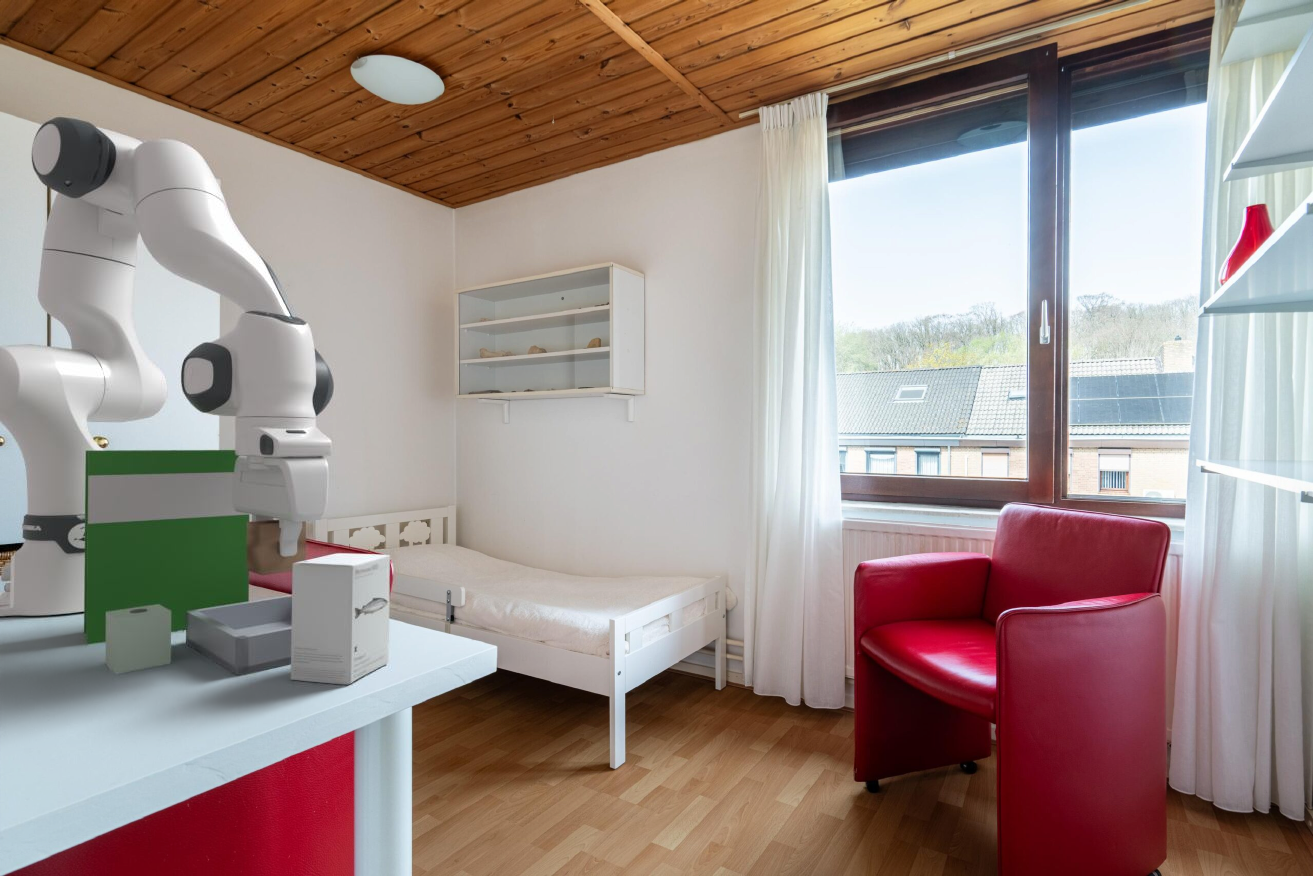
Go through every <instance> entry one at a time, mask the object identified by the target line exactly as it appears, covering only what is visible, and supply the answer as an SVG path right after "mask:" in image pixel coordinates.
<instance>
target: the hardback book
mask: <svg viewBox="0 0 1313 876" xmlns="http://www.w3.org/2000/svg"><path fill="white" fill-rule="evenodd" d="M238 457H239V456H237V455H235V449H172V450H170V449H163V450H162V449H157V450H156V449H155V450H154V449H150V450H149V449H148V450H147V449H145V450H144V449H143V450H141V449H140V450H139V449H138V450H137V449H136V450H135V449H134V450H129V449H128V450H127V449H125V450H123V449H121V450H120V449H117V450H115V449H113V450H111V449H109V450H108V449H105V450H86V462H85V571H84V611H83V633H84V634H86V641H85V642H86V645H94V644H100V643H106V612H108V611H115V610H122V609H129V608H135V607H142V606H149V605H156V604H159V605H161V606H163V607H165V608H167V609H168V610H170V611H171V633H175V632H181V631H186V611H191V610H197V609H204V608H210V607H216V606H223V605H229V604H236V603H242V602H248V601H250V595H249V593H250V591H249V590H250V589H249V588H250V586H249V585H250V571H247V522H250V514H248V513H243V512H237V511H235V509H234V506H233V501H232V497H233V479H234V467H235V462H236V459H237V458H238Z"/></svg>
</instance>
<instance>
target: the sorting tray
mask: <svg viewBox="0 0 1313 876" xmlns="http://www.w3.org/2000/svg"><path fill="white" fill-rule="evenodd" d="M291 630H292V594H287V595H282V596H275V597H267V598H263V599H255V600H249V601H248V602H242V603H236V604H229V605H223V606H216V607H210V608H204V609H197V610H191V611H186V630H185V644H186V645H187V646H189V647H191V648H193V649H195V650H196V651H198V652H199V653H201V654H203V655H204V656H206V657H207V658H208V659H210V660H212V661H214V662H215V663H216V664H219V665H220V666H221V667H223V668H225V669H226V670H229V672H231V673H233V674H234V675H236V676H239V677H240V676H244V675H248V674H252V673H256V672H260V671H265V670H270V669H275V668H278V667H282V666H287V665H291Z"/></svg>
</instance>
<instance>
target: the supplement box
mask: <svg viewBox="0 0 1313 876" xmlns="http://www.w3.org/2000/svg"><path fill="white" fill-rule="evenodd" d="M390 563H391V555H389V554H378V553H377V554H375V553H374V554H373V553H341V552H339V553H333V554H327V555H323V556H319V557H315V558H311V559H306V560H305V561H301V562H297V563H293V567H292V571H291V572H292V573H291V574H292V578H291V579H292V581H291V582H292V583H291V595H292V630H291V664H290V680H292V681H300V682H301V681H302V682H313V683H322V684H323V683H324V684H334V685H335V684H336V685H348V686H349V685H351V684H352V683H354V682H355V681H357V680H359V679H361V678H363V677H364V676H366V675H368V674H370V673H371V672H373V671H376V670H378V669H379V668H381V667H384V666H386V665H387V664H388V663H389V653H390V652H389V651H390V650H389V648H390V647H389V645H390V644H389V643H390V639H389V638H390V577H391V576H390V572H391V571H390V570H391V567H390Z"/></svg>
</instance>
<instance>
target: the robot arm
mask: <svg viewBox="0 0 1313 876" xmlns="http://www.w3.org/2000/svg"><path fill="white" fill-rule="evenodd" d="M31 164H32V167H33V171H34V172H35V174H36V176H37V178H38V180H40V182H41V183H42V184H43V185H44V186H46V187H48V188H49V189H51V190H53V191H55V192H57V193H56V196H55V198H54V200H53V203H52V206H51V209H50V212H49V214H48V218H47V222H46V226H45V231H44V235H43V240H42V241H43V242H42V251H41V261H40V270H39V277H38V279H39V281H38V290H37V298H38V302H39V304H40V306H41V308H42V309H43V310H44V312H46V313H47V314H48V315H50V317H53V319H55V320H57V321H58V322H60V323H61V324H62V325H63V327H64V328H65V330H66V331H67V333H68V335H69V339H70V344H71V348H65V347H57V346H48V345H41V344H34V343H33V344H31V343H30V344H29V343H28V344H10V345H9V344H7V345H0V423H1V425H3V427H5V428H6V430H8V432H9V433H10V434H11V436H12V437H13V439H14V440H15V443H16V444H17V446H18V447H19V450H20V452H21V455H22V458H23V460H24V466H25V475H26V489H27V490H26V492H27V514H24V516H23V521H22V522H23V523H22V524H21V529H22V538H23V539H24V542H23V544H22V546H21V547H20V548H19V549H18V550H17V551H15V553H14V554H13V555H11V556H10V562H5V563H4V564H5V565H3V566H1V567H0V568H1V572H0V579H1V580H0V581H1V582H5V583H4V588H3V589H4V592H2V593H1V594H0V617H7V616H9V617H10V616H52V615H62V614H63V615H64V614H65V615H66V614H73V613H81V612H84V571H85V462H86V450H106V449H105V448H104V447H103V448H102V447H101V446H100V445H98V443H97V442H96V441H95V440H94V438H93V436H92V434H91V433H90V431H89V427H88V423H90V422H91V423H125V422H131V421H132V422H134V421H138V420H142V419H143V420H144V419H148V418H151V417H154V416H155V415H157V414H158V413H159V412H160V411H161V409H162V408H163V407H164V405H165V403H166V402H167V401H166V400H167V397H168V389H169V387H168V383H167V380H166V377H165V375H164V373H163V372H162V370H161V369H160V368H159V367H158V366H157V365H155V363H154V362H152V361H151V359H150V358H149V357H148V355H147V354H146V352H145V351H144V349H143V347H142V345H141V343H140V340H139V337H138V335H137V331H136V327H135V323H134V322H135V321H134V311H133V309H134V308H133V307H134V305H133V304H134V288H135V279H136V278H135V277H136V276H135V275H136V267H137V255H138V254H137V252H138V251H137V249H138V237H139V234H140V237H141V241H142V242H143V244H144V246H145V247H146V249H147V252H149V254H150V255H151V257H152V258H153V259H154V261H155V262H157V263H158V264H159V266H161V267H163V268H164V269H165V270H167V271H169V272H170V273H171V274H174V275H176V276H177V277H180V278H182V279H184V280H187V281H189V282H191V283H194V284H197V285H199V286H201V287H203V288H206V289H208V290H211V291H212V292H215V293H216V294H218V295H220V296H222V297H224V298H226V299H227V300H228V301H229V300H230V301H231V302H232V303H234V304H236V305H237V306H238V307H239V308H241V310H243V313H242V314H240V316H239V318H238V321H237V323H236V325H235V326H234V327H233V329H231V331H229V332H227V333H226V334H224V335H222V336H220V337H219V338H217V339H215V340H213V341H209V342H207V341H206V342H202V343H201V344H199V345H197V346H196V347H195V348H193V349H192V350H191V351H190V352H189V353H188V354H187V355H186V356H185V358H184V359H183V362H182V364H181V372H180V373H181V374H180V382H181V390H182V392H183V395H184V396H185V399H187V401H188V402H189V403H190V405H191V406H193V408H195V409H196V410H197V411H199V412H200V413H203V414H209V415H212V416H219V417H220V416H221V417H223V416H224V417H235V418H234V420H235V421H234V437H235V438H234V440H235V441H234V450H235V455H237V456H239V457H238V458H237V459H236V462H235V467H234V479H233V497H232V501H233V506H234V509H235V511H237V512H243V513H248V514H249V515H251V522H253V521H265V520H277V519H279V527H280V528H281V534H280V540H279V541H277V554H278V555H280V556H284V557H286V556H294V555H295V554H296V553H297V540H298V538H299V535H300V532H301V529H302V521H306V522H314V521H319V520H322V519H323V518H324V516H325V514H326V511H327V509H328V504H329V503H328V501H329V486H330V485H329V482H330V481H329V479H330V477H329V476H330V475H329V474H330V473H329V471H330V470H329V468H330V467H329V463H328V460H327V459H326V457H327V458H328V457H330V456H331V455H332V453H333V452H332V451H333V442H332V440H331V438H329V437H328V436H327V435H325V433H323V432H321V430H320V429H319V428H318V427H317V419H316V418H317V416H318V415H319V414H321V413H322V412H323V411H324V410H325V409H326V408H327V406H328V405H329V403H330V401H331V400H332V398H333V394H334V388H335V386H334V385H335V383H334V378H333V377H334V376H333V374H332V372H331V369H330V368H329V366H328V363H327V362H326V361H325V359H324V358H323V357H322V355H321V354H320V353H319V352H318V350H317V349H316V348H315V342H314V337H313V333H312V329H311V327H310V324H309V323H308V322H307V321H305V320H304V319H302V318H300V317H298V315H297V313H296V311H295V310H294V308H293V306H292V304H291V301H290V300H289V298H288V296H287V294H286V292H285V290H284V289H283V286H282V284H281V282H280V280H279V279H278V277H277V275H276V274H275V272H274V270H273V269H272V267H271V266H270V265H269V264H268V262H267V261H265V259H264V258H263V257H262V256H261V255H259V254H258V253H257V252H256V250H255V249H254V248H253V247H252V246H251V245H250V244H249V242H248V241H247V240H246V238H245V236H243V234H242V233H241V231H240V230H239V228H238V227H237V225H236V224H235V222H234V221H235V220H233V218H232V216H231V213H230V211H229V208H228V204H227V202H226V199H225V196H224V194H223V192H222V190H221V188H220V185H219V183H218V180H217V179H216V176H215V175H214V174H213V172H212V170H211V168H210V167H209V165H208V163H207V162H206V160H205V159H204V157H203V156H202V154H200V153H199V152H198V151H197V150H196V149H195V148H193V147H192V146H190V145H189V144H187V143H184V142H182V141H180V140H176V139H170V138H154V139H150V140H147V141H146V140H144V139H140V138H138V137H137V138H134V137H133V136H129V135H126V134H122V133H120V132H118V131H114V130H110V129H106V128H103V127H99V126H95V125H94V124H93V123H91V122H89V121H87V120H86V121H85V120H82V119H76V118H71V117H64V116H57V117H54V118H52V119H50V120H48V121H46V122H44V123H43V124H42V125H41V126H40V127H39V129H38V130H37V132H36V134H35V136H34V139H33V142H32V148H31Z"/></svg>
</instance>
